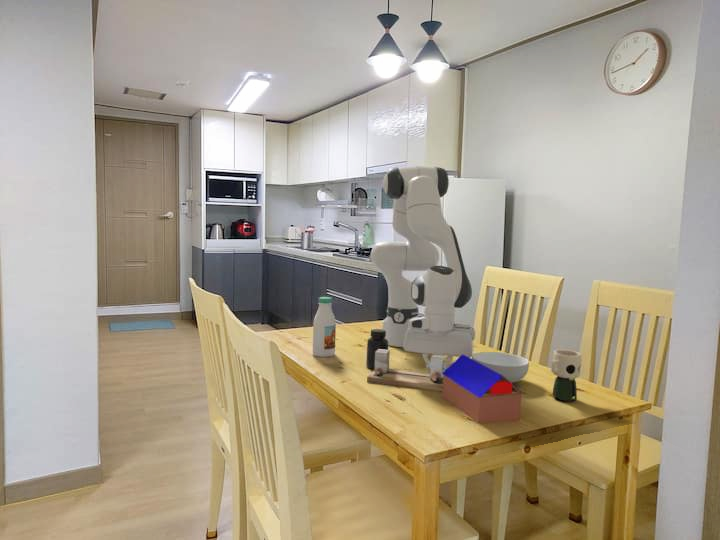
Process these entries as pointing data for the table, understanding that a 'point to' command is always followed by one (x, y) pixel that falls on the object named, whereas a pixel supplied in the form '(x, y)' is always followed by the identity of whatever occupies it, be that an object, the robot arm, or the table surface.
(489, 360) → the cereal bowl
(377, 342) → the supplement bottle
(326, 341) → the milk bottle
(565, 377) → the character mug
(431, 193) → the robot arm
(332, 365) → the table surface
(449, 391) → the house
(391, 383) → the board
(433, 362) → the block
